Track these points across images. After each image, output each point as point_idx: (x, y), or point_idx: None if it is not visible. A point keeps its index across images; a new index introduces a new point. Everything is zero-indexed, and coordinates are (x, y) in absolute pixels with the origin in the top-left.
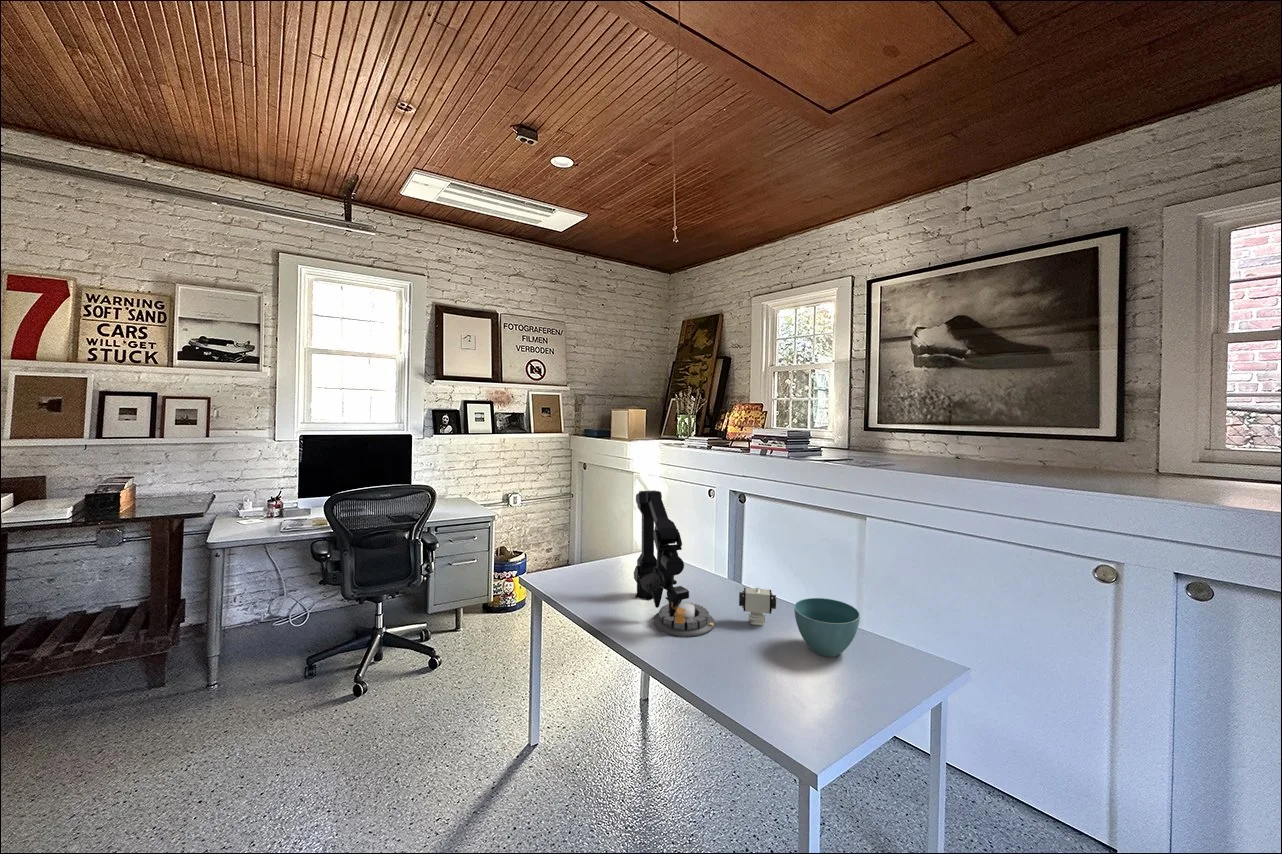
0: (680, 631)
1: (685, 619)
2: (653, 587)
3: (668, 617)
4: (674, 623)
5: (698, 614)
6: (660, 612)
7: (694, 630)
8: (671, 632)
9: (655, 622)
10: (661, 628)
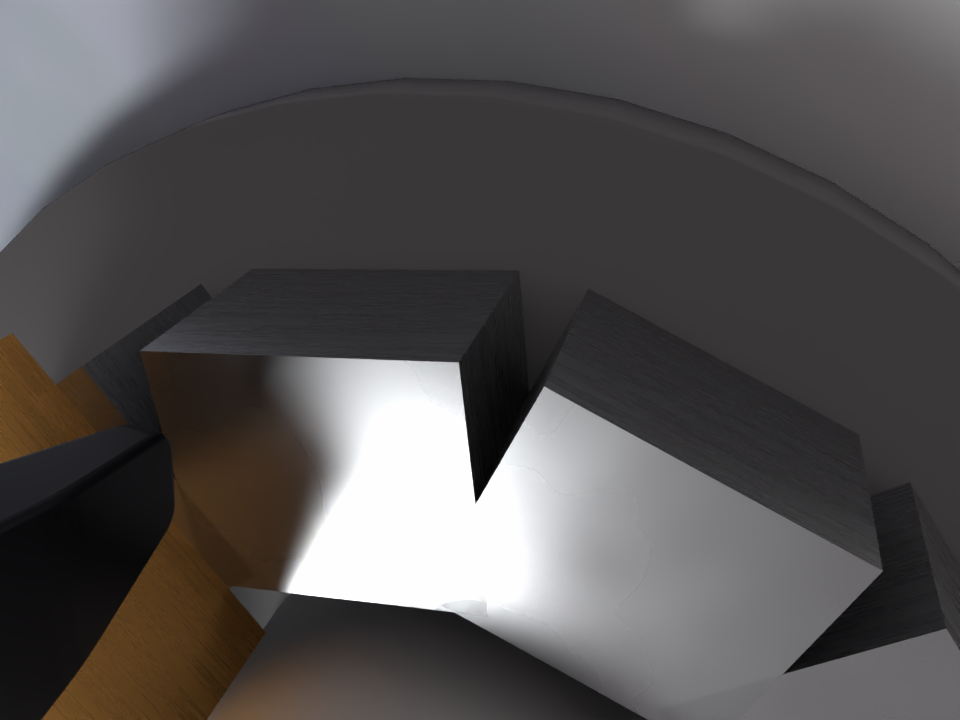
0: (99, 327)
1: None
2: None
3: (386, 478)
4: (105, 354)
5: None
6: (838, 598)
7: None
8: (148, 147)
9: (848, 267)
10: (446, 112)
